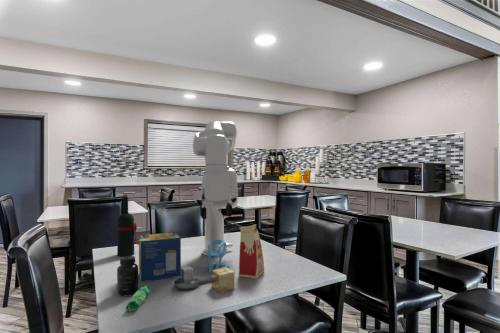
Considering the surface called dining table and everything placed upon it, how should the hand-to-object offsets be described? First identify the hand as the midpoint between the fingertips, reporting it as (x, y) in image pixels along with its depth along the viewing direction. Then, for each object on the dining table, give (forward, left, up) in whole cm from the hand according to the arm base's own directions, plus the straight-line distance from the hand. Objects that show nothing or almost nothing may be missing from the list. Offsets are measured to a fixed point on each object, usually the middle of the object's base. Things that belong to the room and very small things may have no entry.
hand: (216, 217), depth 107 cm
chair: (-8, -17, -25) cm, 32 cm away
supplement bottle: (+28, -13, -25) cm, 40 cm away
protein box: (+14, -24, -25) cm, 37 cm away
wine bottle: (+19, -61, -25) cm, 69 cm away
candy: (+26, -3, -25) cm, 37 cm away
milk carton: (-17, -5, -25) cm, 31 cm away
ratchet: (+2, -7, -25) cm, 26 cm away
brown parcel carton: (-1, +2, -25) cm, 25 cm away
